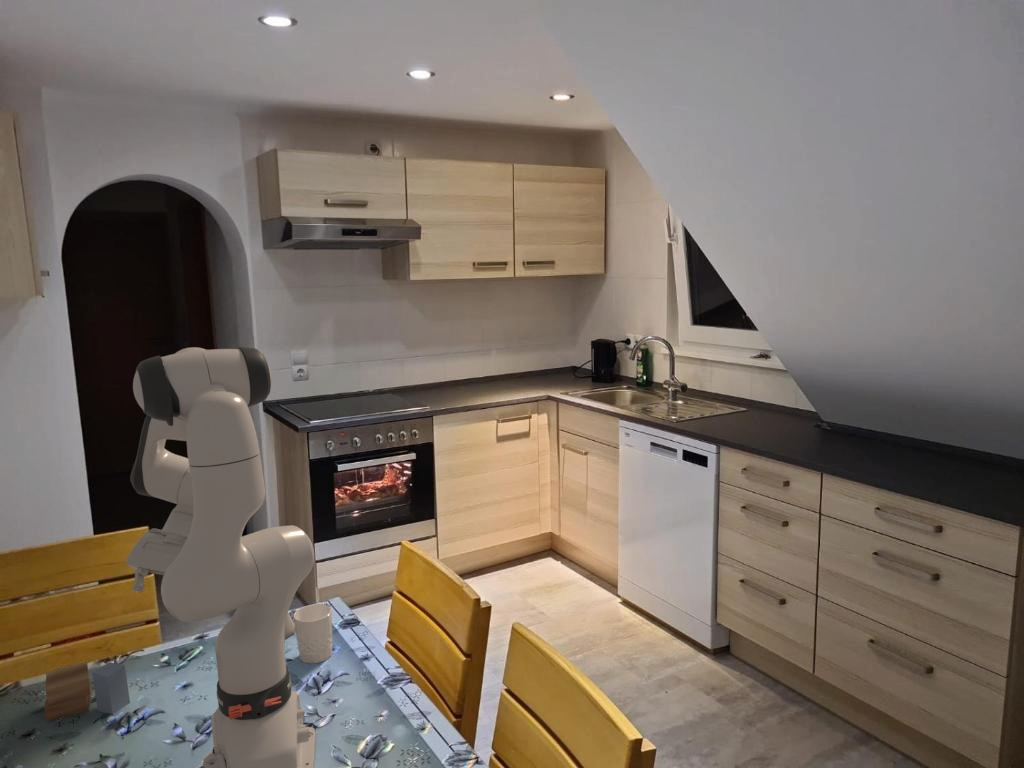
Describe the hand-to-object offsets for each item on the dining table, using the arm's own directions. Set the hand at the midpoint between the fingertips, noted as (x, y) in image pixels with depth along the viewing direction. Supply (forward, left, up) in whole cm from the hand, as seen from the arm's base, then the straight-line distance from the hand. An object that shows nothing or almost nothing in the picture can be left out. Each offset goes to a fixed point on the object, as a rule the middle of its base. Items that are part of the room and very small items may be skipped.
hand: (153, 595), depth 155 cm
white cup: (-8, -30, -18) cm, 36 cm away
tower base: (-5, +17, -18) cm, 25 cm away
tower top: (-5, +16, -14) cm, 22 cm away
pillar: (-9, +9, -17) cm, 21 cm away
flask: (+6, -24, -18) cm, 31 cm away
